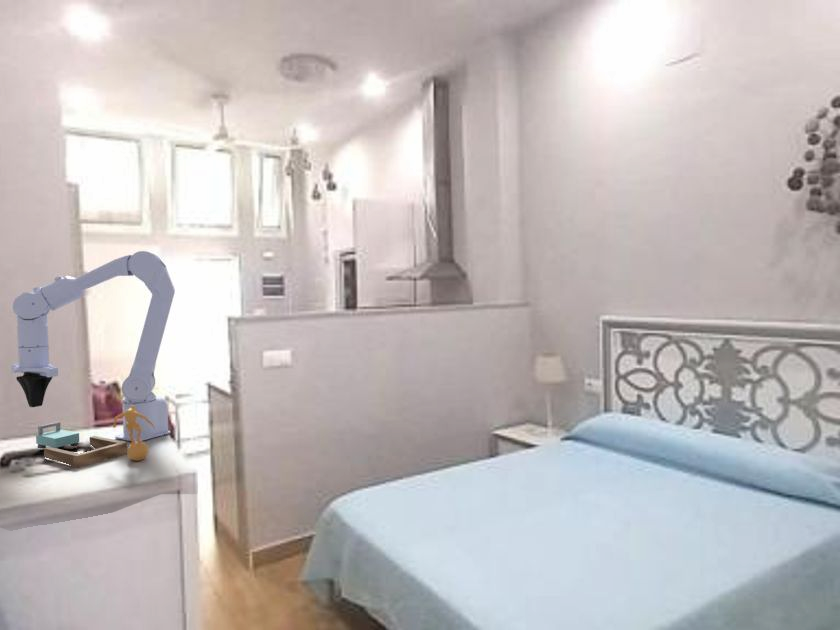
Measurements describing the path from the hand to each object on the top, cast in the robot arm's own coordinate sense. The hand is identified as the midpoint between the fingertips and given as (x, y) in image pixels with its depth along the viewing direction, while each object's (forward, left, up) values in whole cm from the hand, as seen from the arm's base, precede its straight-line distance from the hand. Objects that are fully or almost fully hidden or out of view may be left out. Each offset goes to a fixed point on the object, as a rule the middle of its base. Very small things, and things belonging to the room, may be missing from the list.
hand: (35, 406), depth 130 cm
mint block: (0, +8, -9) cm, 12 cm away
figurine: (-2, +31, -9) cm, 32 cm away
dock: (0, +18, -9) cm, 20 cm away
